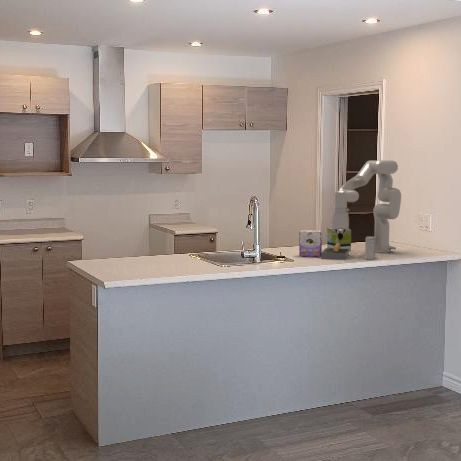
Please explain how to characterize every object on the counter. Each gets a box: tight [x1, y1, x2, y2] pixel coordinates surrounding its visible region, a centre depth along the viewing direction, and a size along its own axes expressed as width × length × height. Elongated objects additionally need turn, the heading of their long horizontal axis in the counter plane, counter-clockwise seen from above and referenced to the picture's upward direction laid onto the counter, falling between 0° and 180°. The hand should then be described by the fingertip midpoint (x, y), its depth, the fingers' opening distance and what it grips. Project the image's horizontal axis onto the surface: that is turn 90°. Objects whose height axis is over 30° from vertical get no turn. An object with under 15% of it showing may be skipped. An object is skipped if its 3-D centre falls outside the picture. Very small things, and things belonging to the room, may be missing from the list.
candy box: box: [298, 229, 323, 258], centre depth 462 cm, size 14×6×16 cm, turn 74°
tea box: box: [326, 227, 352, 252], centre depth 488 cm, size 15×10×15 cm, turn 25°
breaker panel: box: [320, 247, 350, 261], centre depth 460 cm, size 15×20×4 cm
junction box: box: [364, 235, 376, 261], centre depth 454 cm, size 5×12×13 cm, turn 165°
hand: (340, 239), depth 458 cm, fingers closed
